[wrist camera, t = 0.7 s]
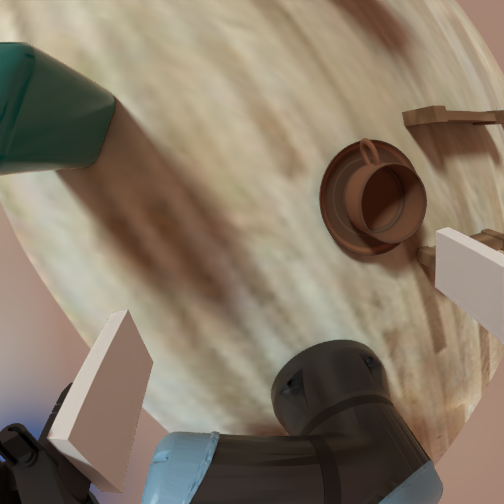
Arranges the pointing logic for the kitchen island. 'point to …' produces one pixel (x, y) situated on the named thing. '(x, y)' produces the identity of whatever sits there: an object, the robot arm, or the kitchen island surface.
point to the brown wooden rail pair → (477, 118)
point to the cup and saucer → (371, 197)
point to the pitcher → (48, 112)
